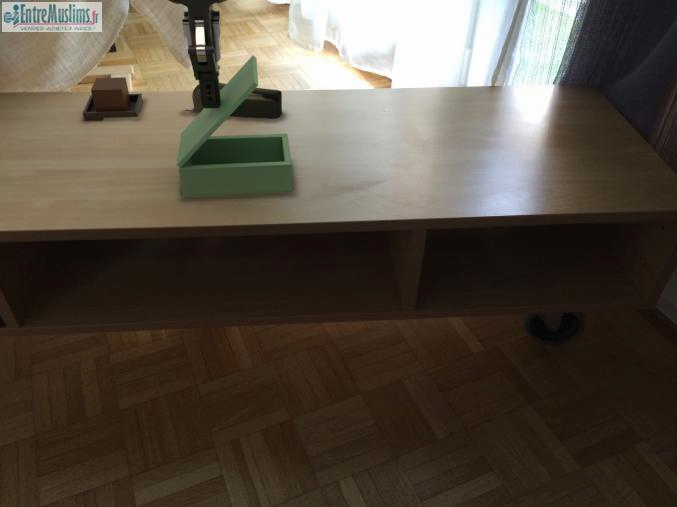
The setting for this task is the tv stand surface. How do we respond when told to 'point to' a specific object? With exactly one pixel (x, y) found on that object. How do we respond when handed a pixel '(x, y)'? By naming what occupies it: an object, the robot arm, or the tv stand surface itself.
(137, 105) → the tray
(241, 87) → the lid
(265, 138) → the box
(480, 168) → the tv stand surface
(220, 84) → the dark green elongated piece
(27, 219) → the tv stand surface
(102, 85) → the block
